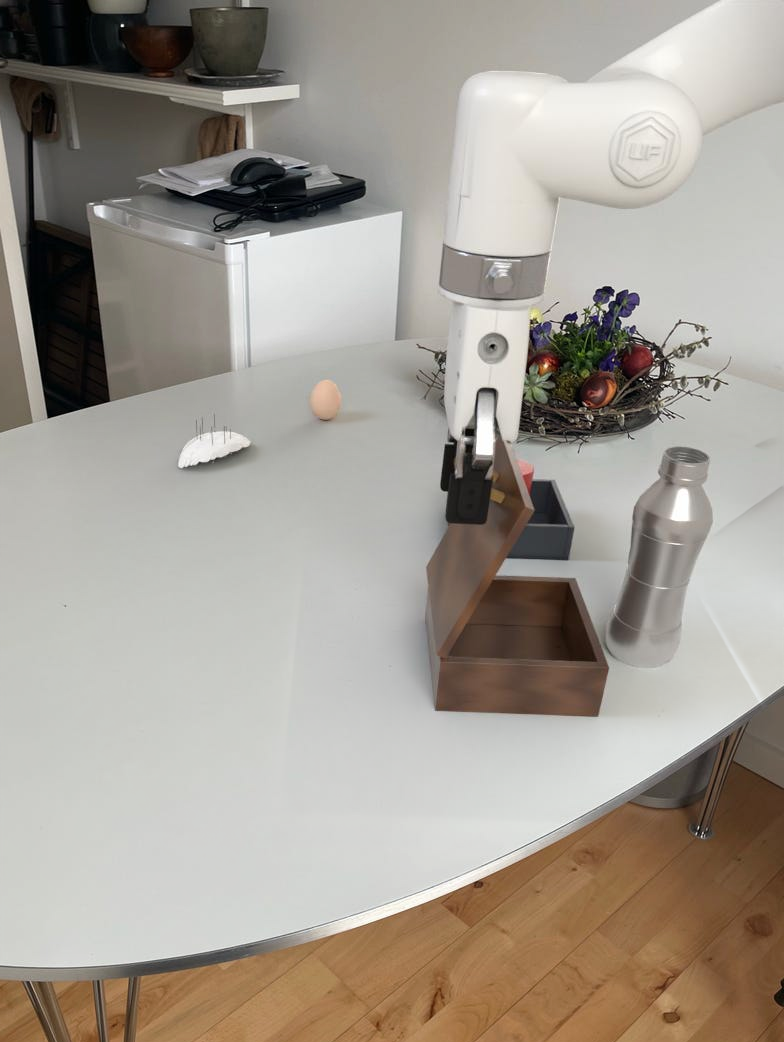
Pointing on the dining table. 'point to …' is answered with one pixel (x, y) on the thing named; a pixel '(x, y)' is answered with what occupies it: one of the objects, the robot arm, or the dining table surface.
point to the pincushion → (211, 446)
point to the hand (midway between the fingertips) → (462, 504)
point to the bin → (545, 526)
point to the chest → (522, 653)
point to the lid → (476, 551)
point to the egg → (325, 400)
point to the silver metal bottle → (661, 561)
